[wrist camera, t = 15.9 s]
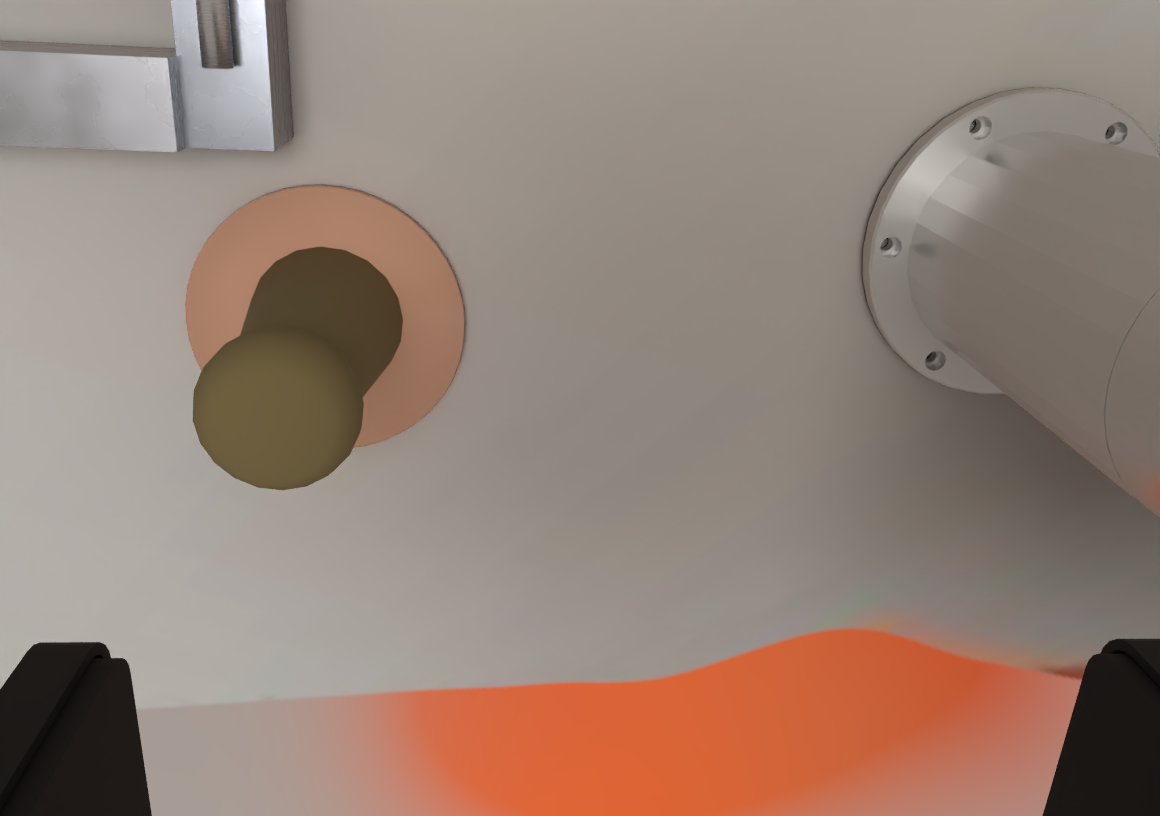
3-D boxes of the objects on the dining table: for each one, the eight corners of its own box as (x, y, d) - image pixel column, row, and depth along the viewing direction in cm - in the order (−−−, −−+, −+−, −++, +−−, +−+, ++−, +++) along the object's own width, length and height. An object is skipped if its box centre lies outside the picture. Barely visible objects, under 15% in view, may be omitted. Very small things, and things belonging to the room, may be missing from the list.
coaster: (465, 189, 40) (464, 192, 39) (464, 444, 44) (463, 450, 43) (176, 179, 39) (171, 182, 38) (203, 441, 43) (199, 447, 42)
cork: (352, 417, 42) (303, 552, 32) (221, 337, 41) (127, 454, 30) (432, 303, 41) (408, 408, 30) (300, 215, 39) (227, 295, 29)
